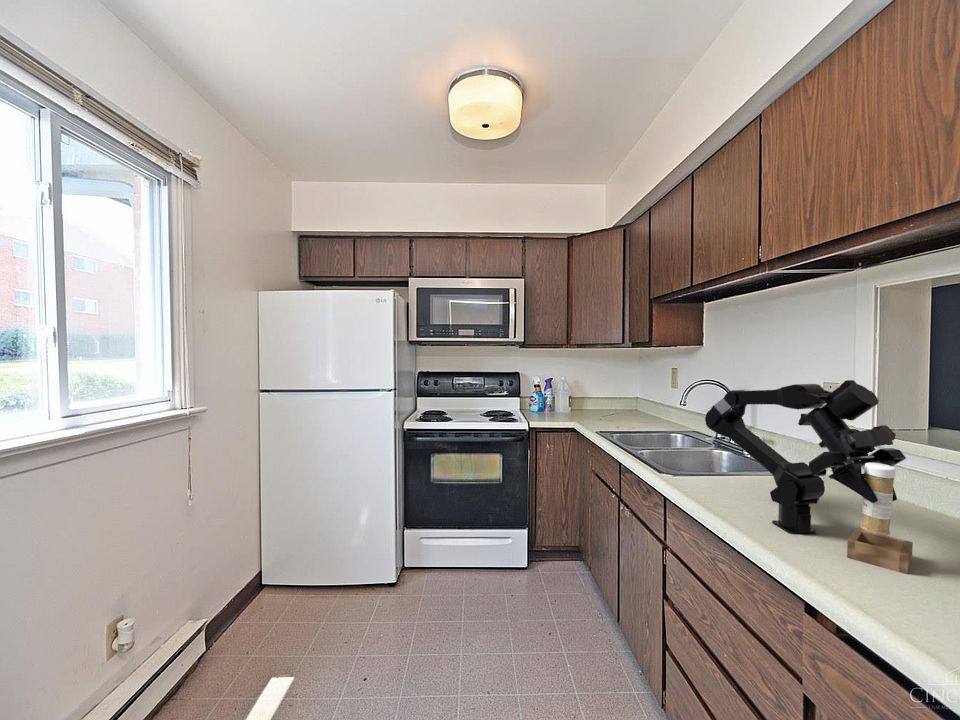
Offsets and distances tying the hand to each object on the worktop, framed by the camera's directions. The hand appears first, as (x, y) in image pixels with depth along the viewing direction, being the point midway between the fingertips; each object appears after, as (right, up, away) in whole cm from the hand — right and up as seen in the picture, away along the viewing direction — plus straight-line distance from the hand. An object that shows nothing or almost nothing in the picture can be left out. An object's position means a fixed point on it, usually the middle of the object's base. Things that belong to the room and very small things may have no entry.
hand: (885, 501), depth 88 cm
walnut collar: (+2, -13, +4) cm, 14 cm away
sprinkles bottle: (0, -7, +2) cm, 7 cm away
